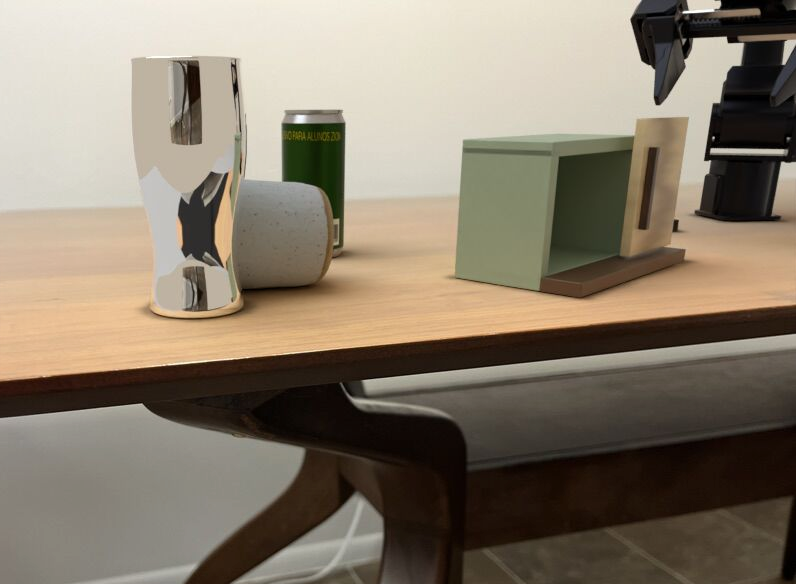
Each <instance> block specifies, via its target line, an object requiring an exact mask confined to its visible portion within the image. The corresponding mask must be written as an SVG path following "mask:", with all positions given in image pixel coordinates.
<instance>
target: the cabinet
mask: <svg viewBox="0 0 796 584" xmlns="http://www.w3.org/2000/svg"><path fill="white" fill-rule="evenodd" d="M634 137H635V134H598V133H597V134H594V133H593V134H589V133H588V134H587V133H547V134H546V133H545V134H530V135H528V134H527V135H513V136H496V137H481V138H479V137H478V138H464V139H462V149H461V150H462V151H461V164H460V165H461V166H460V181H459V182H460V183H459V198H458V200H459V201H458V216H457V231H456V247H455V263H454V265H455V266H454V278H455V279H462V280H468V281H474V282H480V283H486V284H493V285H500V286H505V287H511V288H517V289H524V290H529V291H536V292H542V293H548V294H554V295H561V296H566V297H572V298H579V299H581V298H584V297H586V296H588V295H592V294H595V293H597V292H600V291H602V290H603V291H604V290H606V289H608V288H612V287H614V286H617V285H620V284H623V283H626V282H628V281H629V282H630V281H631V280H635V279H637V278H641V277H642V276H645V275H649V274H651V273H654V272H656V271H660V270H662V269H663V270H664V268H668V267H671V266H674V265H677V264H680V263H683V262H685V258H686V251H687V250H686V249H685V248H679V247H678V248H677V247H671V246H670V247H669V246H664V247H661V248H657V249H654V250H651V251H648V252H644V253H641V254H638V255H635V256H631V257H623V256H620V248H621V240H622V232H623V224H624V216H625V208H626V200H627V192H628V184H629V176H630V169H631V161H632V153H633V145H634Z"/></svg>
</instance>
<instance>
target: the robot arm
mask: <svg viewBox="0 0 796 584" xmlns="http://www.w3.org/2000/svg"><path fill="white" fill-rule="evenodd" d="M714 1H715V2H718V1H719V2H720V5H719V8H709V9H708V8H707V9H693V10H690V8H689V4H688V0H640V1H639V3H638V4H637V6H636V7H635V9H634V11H633V13H632V15H631V17H630V18H629V20H630V21H629V22H630V25H631V28H632V32H633V35H634V40H635V43H636V46H637V51H638V54H639V57H640V61H641V62H642V63H644V64H645V65H647V66H650V67H651V68H652V69H653V70H654V81H653V83H654V84H653V101H654V105H655V106H657V107H658V106H661V105H662V104H663V103H664V102H665V101H666V99H667V98H668V97H669V95H670V94H671V92H672V91H673V89H674V87H675V86H676V84H677V82H678V81H679V79H680V77H681V76H682V74H683V73H684V71H685V69H686V67H687V66H686V60H687V59H688V58H689V56H690V54H691V52H692V50H693V44H694V39H707V38H709V39H711V38H726V41H727V44H728V45H729V44H730V45H731V44H742V51H741V56H740V57H741V58H740V64H739V65H732V66H731V67H730V68H729V70H728V71H727V72H726V78H725V80H723V83H722V87H721V94H720V99H719V102H712V105H711V111H710V119H709V123H708V124H709V125H708V132H707V138H706V143H705V150H704V156H703V162H710V163H709V170H708V173H706V174H705V175H704V177H703V178H704V179H703V186H702V190H701V191H702V192H701V198H700V204H699V209H694V213H693V214H695V215H699V216H703V217H708V218H712V219H715V220H716V219H717V220H721V221H726V222H727V221H734V222H735V221H737V222H738V221H778V220H779V221H780V220H782V215H781V214H776V213H773V211H774V205H775V200H776V194H777V189H778V183H779V178H780V173H781V172H780V171H781V167H782V163H785V164H791V163H796V44H795V45H794V47H793V49H792V51H791V52H790V54H789V56H788V58H787V60H786V62H785V64H784V63H783V61H784V53H785V43H786V42H788V41H792V40H796V0H714ZM712 149H722V150H723V149H724V150H725V149H728V150H730V149H731V150H733V149H734V150H736V149H737V150H783V153H762V152H761V153H760V152H759V153H754V152H753V153H752V152H711V151H712Z"/></svg>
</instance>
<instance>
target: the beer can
mask: <svg viewBox="0 0 796 584" xmlns="http://www.w3.org/2000/svg"><path fill="white" fill-rule="evenodd" d="M343 113H344V109H284V110H283V114H284V116H283V118H282V120H281V126H280V127H281V128H280V129H281V134H280V135H281V136H280V137H281V182H297V183H304V184H308V185H312V186H316V187H319V188H320V189H322V190H323V191H324V192H325V194H326V195H327V197H328V199H329V202H330V205H331V209H332V214H333V224H334V242H333V253H332V258H336V257H339V256H341V253H342V251H343V249H344V246H345V244H344V243H345V192H346V191H345V189H346V188H345V187H346V186H345V185H346V182H345V181H346V131H347V130H346V129H347V127H346V125H347V124H346V123H347V122H346V120H345V118H344V116H343Z"/></svg>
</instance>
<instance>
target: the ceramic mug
mask: <svg viewBox="0 0 796 584" xmlns="http://www.w3.org/2000/svg"><path fill="white" fill-rule="evenodd" d="M333 242H334V224H333V214H332V209H331V205H330V202H329V199H328V197H327V195H326V194H325V192H324V191H323V190H322V189H320V188H319V187H316V186H312V185H308V184H304V183H297V182H282V181H277V180H276V181H273V180H260V179H247V178H245V179H244V187H243V194H242V201H241V208H240V214H239V222H238V230H237V244H236V255H237V266H238V273H239V278H240V283H241V287H242V290H252V289H266V288H291V287H301V286H308V285H314V284H315V283H317V282H319V281H321V280H322V279H323V278H325V276H326V274H327V273H328V271H329V269H330V266H331V263H332V259H333V257H332V253H333Z"/></svg>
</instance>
